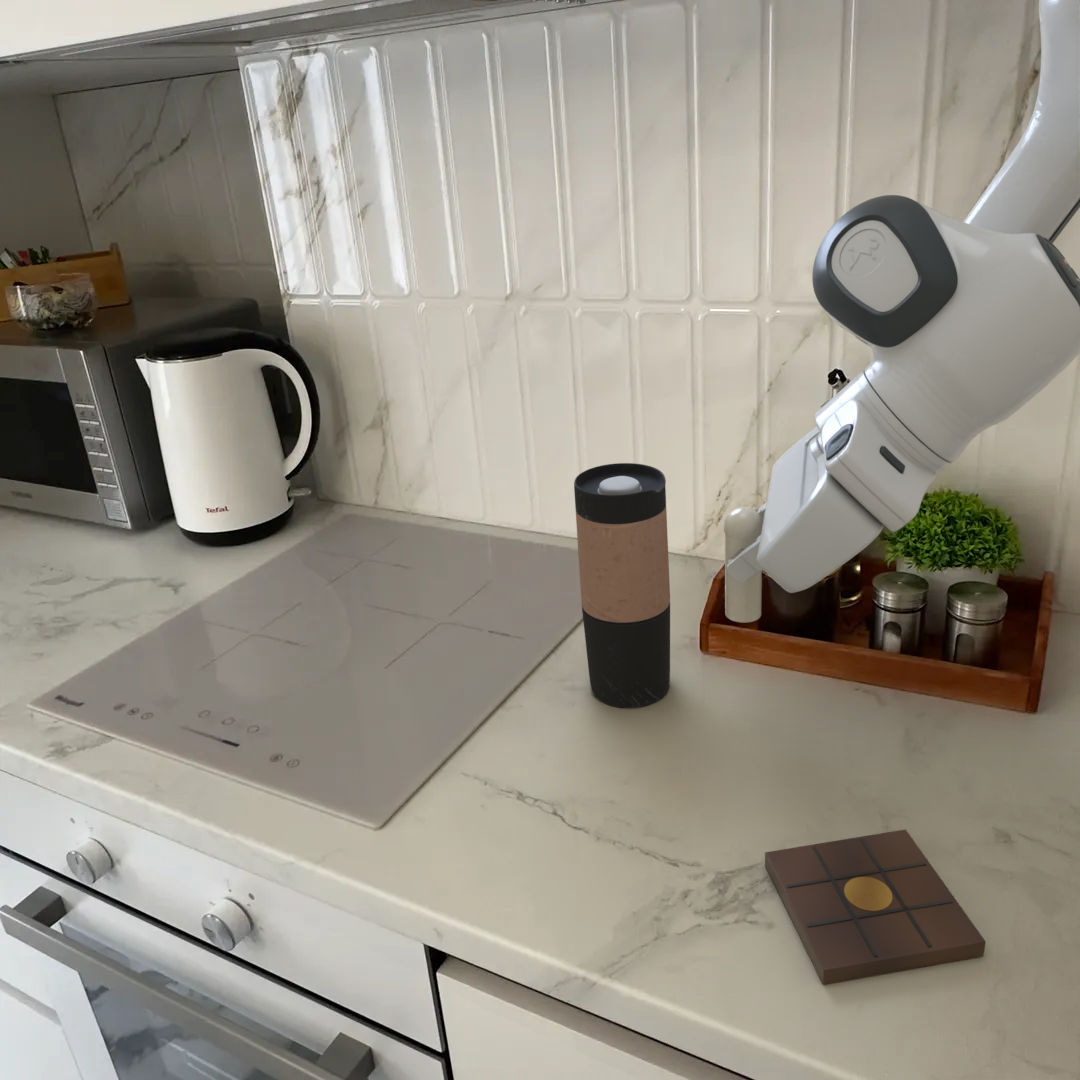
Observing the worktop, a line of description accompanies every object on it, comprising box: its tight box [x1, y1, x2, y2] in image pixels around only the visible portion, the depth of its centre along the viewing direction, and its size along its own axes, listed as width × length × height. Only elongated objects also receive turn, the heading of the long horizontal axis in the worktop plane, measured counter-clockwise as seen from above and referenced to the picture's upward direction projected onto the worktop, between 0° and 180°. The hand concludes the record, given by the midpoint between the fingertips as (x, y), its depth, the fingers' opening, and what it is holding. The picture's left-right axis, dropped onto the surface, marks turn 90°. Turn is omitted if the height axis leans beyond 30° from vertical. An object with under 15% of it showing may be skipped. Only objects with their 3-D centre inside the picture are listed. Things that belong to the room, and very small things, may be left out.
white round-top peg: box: [723, 506, 763, 624], centre depth 75 cm, size 3×3×9 cm
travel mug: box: [573, 462, 671, 709], centre depth 84 cm, size 8×8×20 cm
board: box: [764, 829, 986, 985], centre depth 62 cm, size 10×10×1 cm
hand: (735, 562), depth 76 cm, fingers closed on white round-top peg, 3 cm apart
